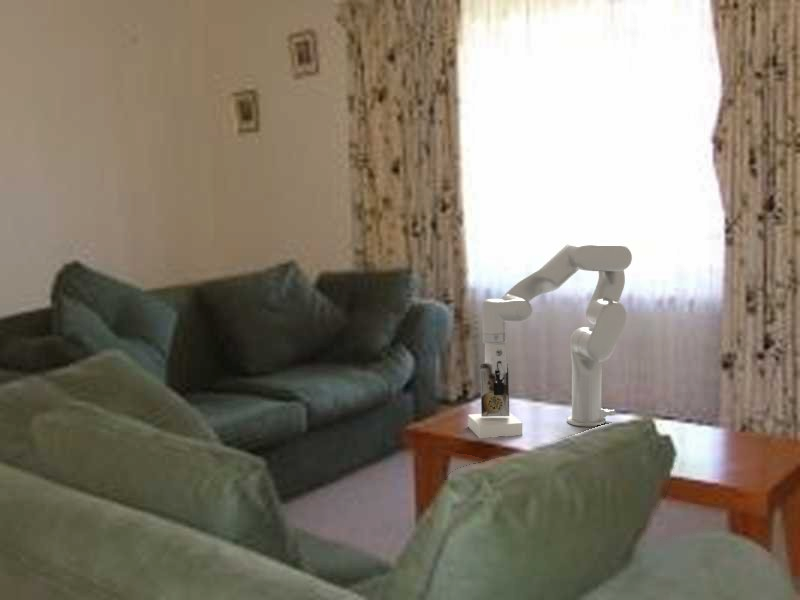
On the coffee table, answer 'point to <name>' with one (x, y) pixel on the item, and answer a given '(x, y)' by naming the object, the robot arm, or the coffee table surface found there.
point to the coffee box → (489, 401)
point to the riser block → (494, 425)
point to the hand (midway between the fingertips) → (495, 391)
